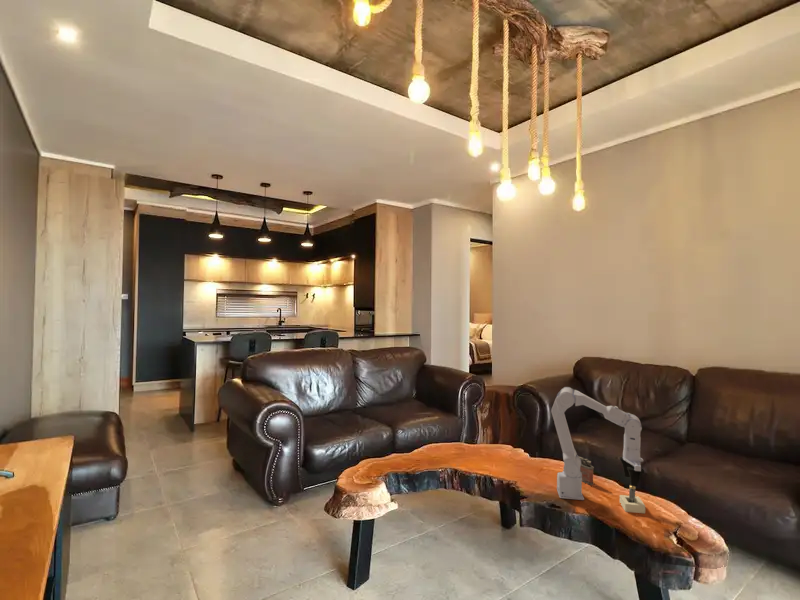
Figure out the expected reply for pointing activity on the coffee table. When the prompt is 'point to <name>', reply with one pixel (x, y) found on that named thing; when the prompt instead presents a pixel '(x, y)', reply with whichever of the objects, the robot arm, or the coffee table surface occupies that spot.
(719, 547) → the coffee table surface
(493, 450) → the coffee table surface
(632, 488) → the metal peg
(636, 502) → the block with square hole
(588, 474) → the lighter
